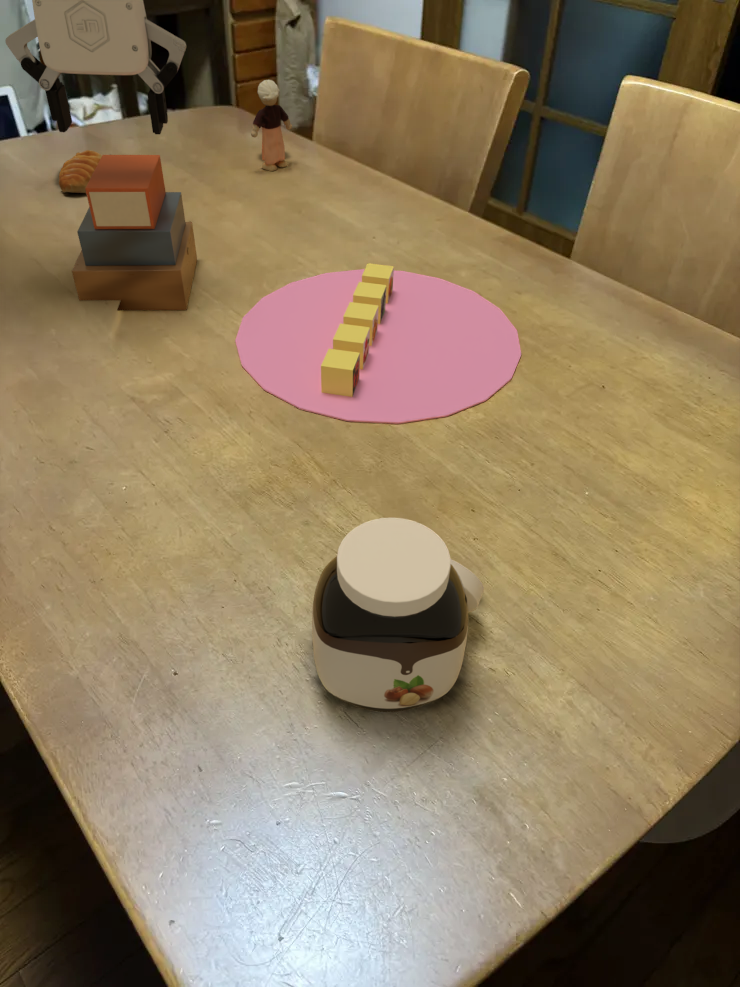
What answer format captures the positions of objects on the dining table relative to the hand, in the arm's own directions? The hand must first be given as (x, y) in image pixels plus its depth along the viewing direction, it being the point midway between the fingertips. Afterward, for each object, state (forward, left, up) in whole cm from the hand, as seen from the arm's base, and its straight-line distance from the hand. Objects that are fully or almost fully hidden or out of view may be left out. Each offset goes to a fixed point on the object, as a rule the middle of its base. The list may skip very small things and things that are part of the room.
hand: (112, 129), depth 80 cm
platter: (+28, -13, -18) cm, 36 cm away
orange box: (0, 0, -9) cm, 9 cm away
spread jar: (+26, -55, -18) cm, 64 cm away
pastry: (-13, +32, -18) cm, 39 cm away
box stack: (0, 0, -18) cm, 18 cm away
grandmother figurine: (+15, +39, -18) cm, 45 cm away
